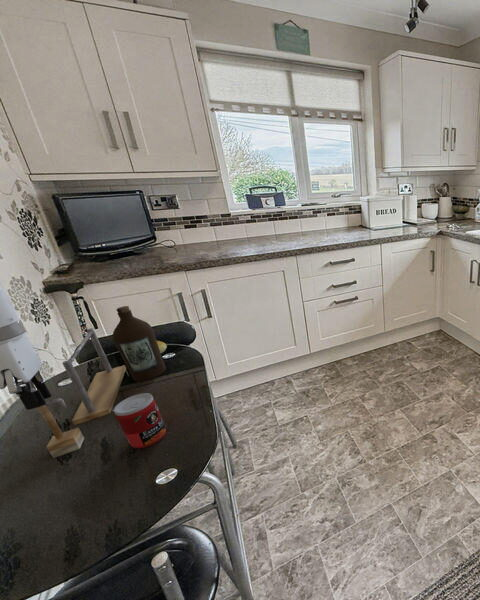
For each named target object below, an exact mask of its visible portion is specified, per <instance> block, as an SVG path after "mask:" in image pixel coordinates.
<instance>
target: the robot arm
mask: <svg viewBox="0 0 480 600" xmlns="http://www.w3.org/2000/svg"><path fill="white" fill-rule="evenodd" d="M27 334H28V330H27V329H26V326H25V325H24V323H23V321H22V319H21V318H20V316H19V314H18V312H17V311H16V309H15V307H14V305H13V303H12V302H11V299H10V298H9V296H8V294H7V292H6V290H5V289H4V287H3V285H2V283H1V282H0V390H4V389H5V388H6V387H7V390H8V393H9V394H10V395H12V394H13V395H16V397H18V398H19V399H20V401H21V403H22V404H23V406H24V407H25V409H26V410H27V411H30V410H33V409H36V408H37V407H40V406H44V405H45V404H46V402H47V401H46V399H50V398H51V397H52V393H51V392H50V389H49V388H48V386H47V384H46V383H45V380H44V377H43V376H42V374H41V371H40V369H41V368H42V366H43V361H42V358H41V357H40V355H39V353H38V352H37V350H36V348H35V346H34V345H33V344H32V341H31V340H30V339H29V338H28V336H27ZM33 383H34V384H33ZM26 384H27V386H28V387H27V386H25V385H26ZM34 385H35V386H34ZM35 387H36V388H37V390H36V388H35ZM37 409H38V408H37Z"/></svg>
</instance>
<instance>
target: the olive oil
mask: <svg viewBox="0 0 480 600" xmlns="http://www.w3.org/2000/svg"><path fill="white" fill-rule="evenodd" d="M116 312H117V316H118V318H119V321H118V324H117V325H116V326H115V328H114V330H113V332H112V341H113V343H114V345H115V347H116V349H117V351H118V352H119V354H120V356H121V358H122V360H123V362H124V364H125V367H126V369H127V370H128V371H129V374H130V375H131V378H132V380H133V381H134V382H138V383H139V382H145V381H149V380H152V379H155V378H157V377H159V376H161V375H162V374H163V373H165V371H166V369H167V367H166V365H165V364H166V363H165V362H164V359H163V356H162V353H160V349H159V346H158V343H157V341H158V340H157V337H156V335H155V330H154V328H153V327H152V326H151V324H149V322H148V321H145V320H142V319H140V318H137V317H135V316H133V313H132V310H131V309H130V306H129V305H124V306H119V307H117V308H116Z"/></svg>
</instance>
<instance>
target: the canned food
mask: <svg viewBox="0 0 480 600" xmlns="http://www.w3.org/2000/svg"><path fill="white" fill-rule="evenodd" d="M113 410H114V411H113V412H114V416H115V417H116V419H117V421H118V423H119V425H120V428H121V430H122V431H123V433H124V436H125V437H126V440H127V442H128V443H129V445H130V446H131V447H132V448H134V449H136V448H137V449H136V450H139V449H140V448H141V449H145V447H146V448H149V447H151V446H153V445H155V444H157V443H158V442H160V441H161V440H162V439H163V438H164V437H165V435H166V434H167V425H166V424H165V422H164V419H163V416H162V414H161V412H160V410H159V407H158V404H157V403H156V400H155V397H154V396H153V395H152V394H151V393H147V392H145V393H138V394H135V395H131V396H129V397H127V398H125V399H123V400H122V401H120V402H119V403H118V404H116V405H115V406H114V407H113ZM156 442H157V443H156ZM148 446H149V447H148Z"/></svg>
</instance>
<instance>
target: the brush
mask: <svg viewBox="0 0 480 600" xmlns="http://www.w3.org/2000/svg"><path fill="white" fill-rule="evenodd" d="M33 384H34V383H33ZM24 386H27V384H26V385H25V384H24ZM34 386H35V385H34ZM27 387H28V386H27ZM35 388H36V387H35ZM36 390H37V388H36ZM55 403H56V404H57V403H59V404H60V406H61V408H62V409H67V405H66V403H65V401H64V399H63V398H61V397H58V398H54V399H51V400H48V401H46V404H45V405H44V406H40V407H37V410H38V411H39V413H40V415H41V416H42V418H43V419H44V421H45V423H46V424H47V427H48V428H49V429H50V431H51V433H52V436H51V438H50V440H49V442H48V444H47V445H46V449H47V451H48V453H50V455H51V457H52V458H53V459H55V458H58V457H60V456H63V455H66V454H70V453H72V452H75V451H77V450H80V449H81V447H82V445H83V442H84V440H85V437H84V435H83V433H82V431H81V429H80V427H75V428H73V429H72V428H71V429H70V430H67V431H64V432H63V431H62V430H61V428H60V427H59V425H58V423H57V421H56V419H55V417H54V416H53V414H52V412H51V411H50V408H48V406H49V405H52V404H55Z"/></svg>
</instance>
